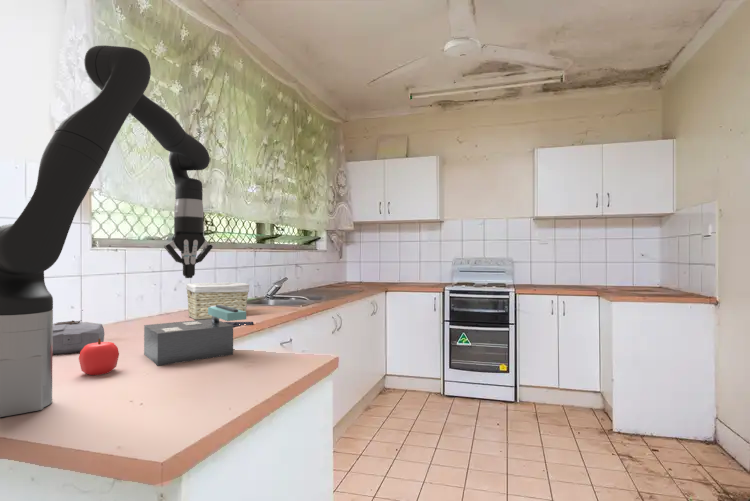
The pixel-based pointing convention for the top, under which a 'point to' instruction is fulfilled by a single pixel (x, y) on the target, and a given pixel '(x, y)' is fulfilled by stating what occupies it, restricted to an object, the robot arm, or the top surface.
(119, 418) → the top surface
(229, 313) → the bar
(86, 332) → the small grey backpack
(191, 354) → the box
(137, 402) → the top surface
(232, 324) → the squeegee
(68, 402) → the top surface
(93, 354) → the apple
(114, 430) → the top surface
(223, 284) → the storage basket
